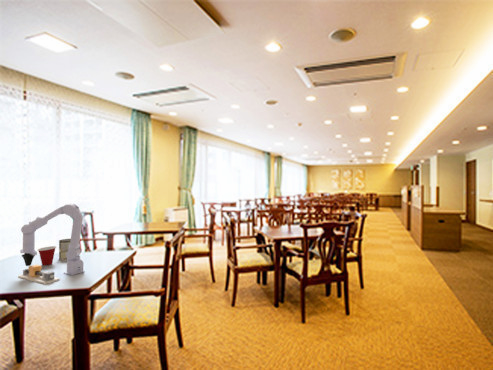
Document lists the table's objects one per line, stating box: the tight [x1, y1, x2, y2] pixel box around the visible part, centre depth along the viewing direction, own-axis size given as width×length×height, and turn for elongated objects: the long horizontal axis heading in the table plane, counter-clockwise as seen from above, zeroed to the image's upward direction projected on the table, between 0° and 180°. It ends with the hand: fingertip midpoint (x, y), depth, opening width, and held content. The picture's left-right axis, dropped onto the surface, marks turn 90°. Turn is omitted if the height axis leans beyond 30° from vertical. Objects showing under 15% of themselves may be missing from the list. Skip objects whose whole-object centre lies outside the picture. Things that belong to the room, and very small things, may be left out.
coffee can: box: [58, 238, 71, 261], centre depth 212 cm, size 10×10×14 cm
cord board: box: [17, 268, 61, 285], centre depth 165 cm, size 28×8×5 cm, turn 64°
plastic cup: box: [37, 245, 57, 267], centre depth 195 cm, size 11×11×12 cm
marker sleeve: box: [27, 264, 42, 277], centre depth 167 cm, size 5×4×6 cm
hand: (28, 265), depth 170 cm, fingers closed
